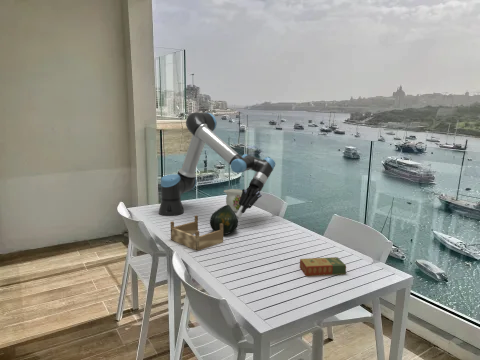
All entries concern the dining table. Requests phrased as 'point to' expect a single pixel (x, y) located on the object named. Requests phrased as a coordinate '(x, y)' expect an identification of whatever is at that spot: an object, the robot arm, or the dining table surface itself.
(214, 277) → the dining table surface
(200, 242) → the rack
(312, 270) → the carton
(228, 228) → the squash
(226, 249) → the dining table surface
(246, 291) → the dining table surface
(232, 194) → the pitcher
